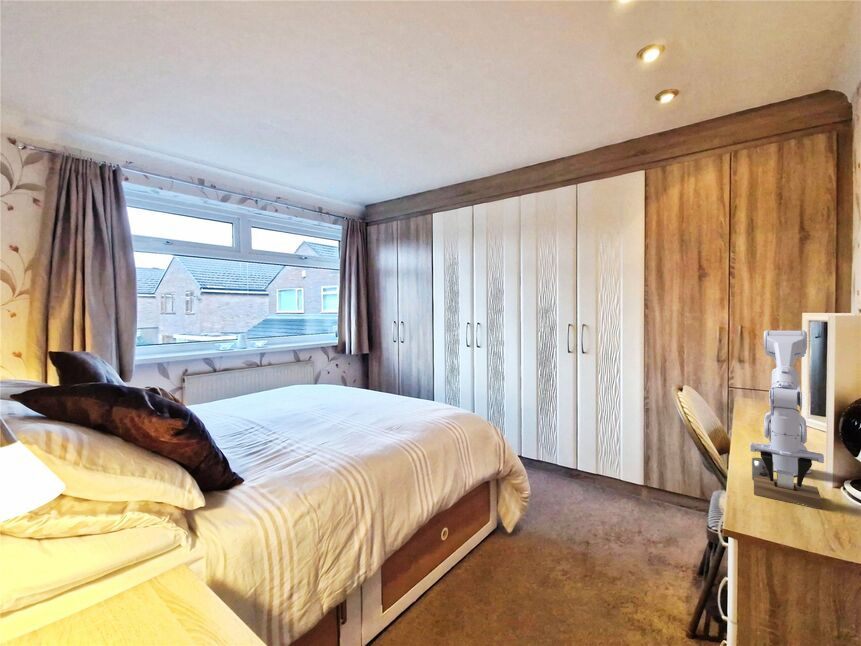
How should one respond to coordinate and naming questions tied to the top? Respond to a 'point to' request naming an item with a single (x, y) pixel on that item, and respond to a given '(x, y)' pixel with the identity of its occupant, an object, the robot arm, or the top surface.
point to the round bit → (760, 468)
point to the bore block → (787, 492)
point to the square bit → (785, 480)
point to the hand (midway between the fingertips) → (785, 482)
